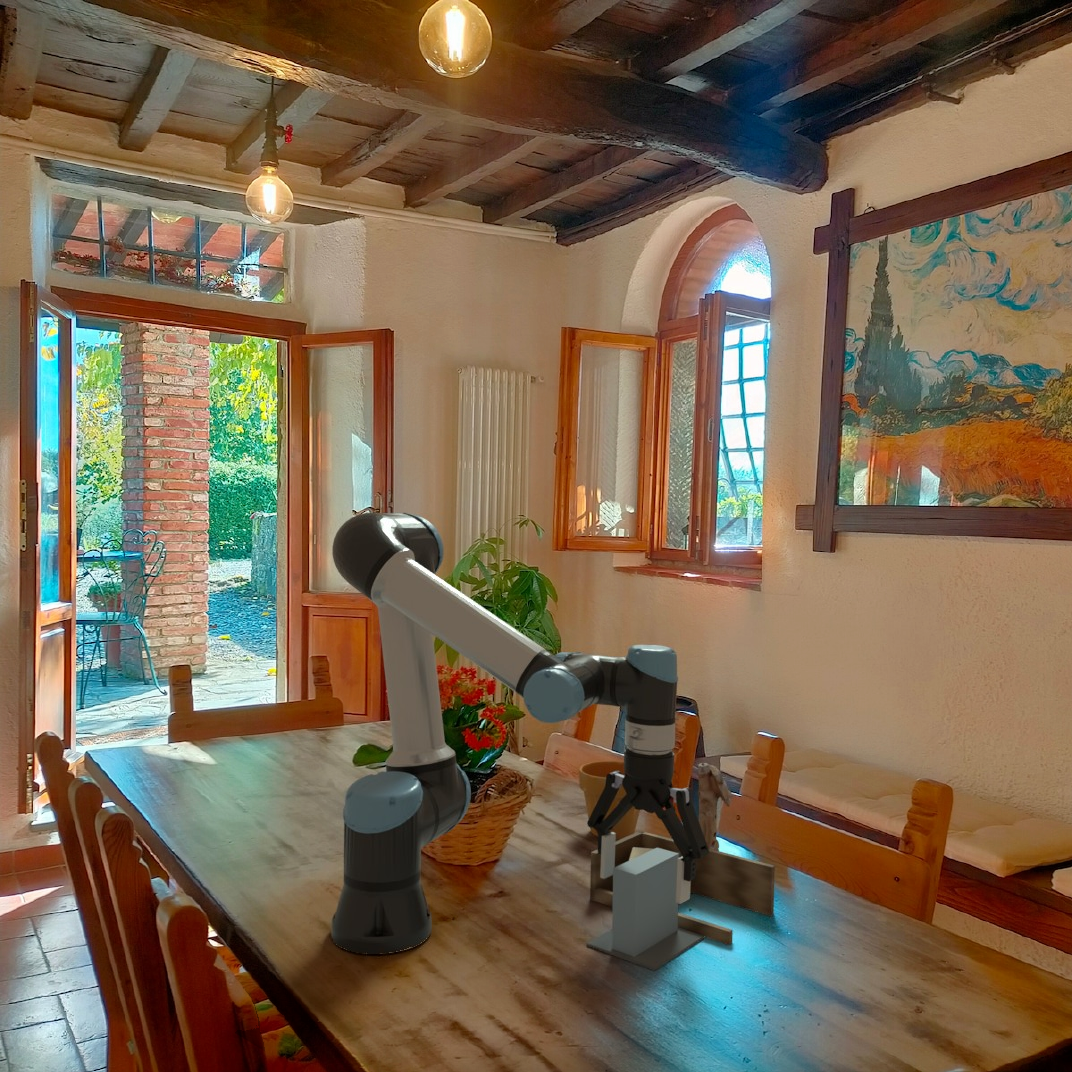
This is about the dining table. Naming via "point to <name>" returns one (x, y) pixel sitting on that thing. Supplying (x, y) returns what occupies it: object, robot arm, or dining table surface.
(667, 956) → the mat
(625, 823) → the flower pot
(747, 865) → the rack
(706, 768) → the figurine
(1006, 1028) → the dining table surface
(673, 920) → the grey rectangular block
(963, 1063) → the dining table surface
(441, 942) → the dining table surface
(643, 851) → the offcut upper
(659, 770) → the robot arm
